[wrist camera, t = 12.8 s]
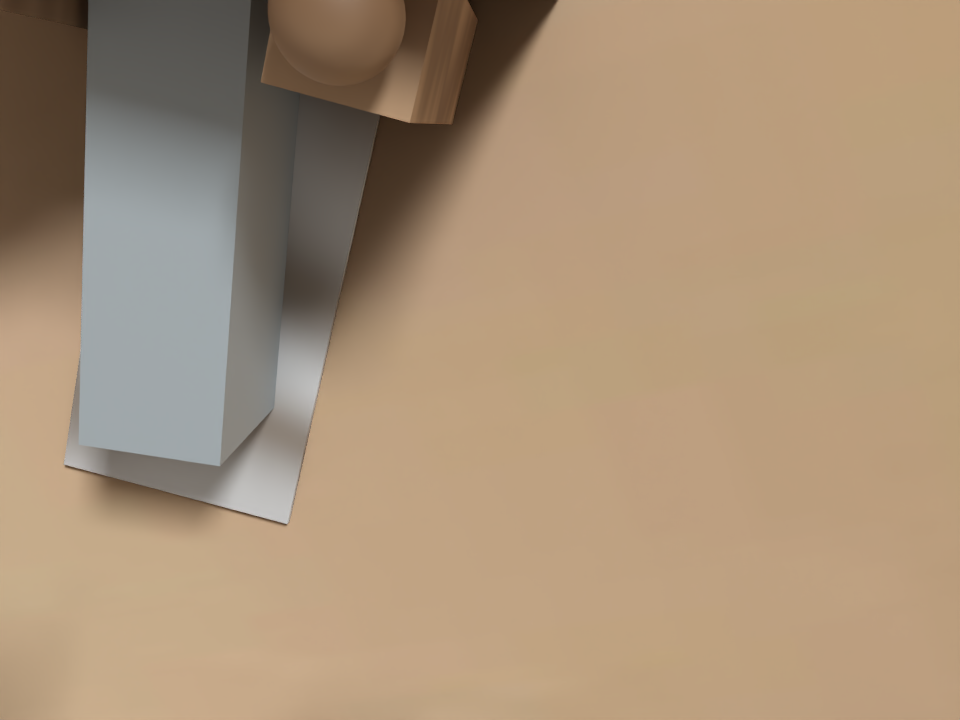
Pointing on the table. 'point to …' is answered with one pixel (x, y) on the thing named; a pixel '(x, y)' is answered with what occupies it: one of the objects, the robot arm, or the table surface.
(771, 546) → the table surface
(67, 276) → the table surface
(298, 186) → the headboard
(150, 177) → the rail
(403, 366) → the table surface
